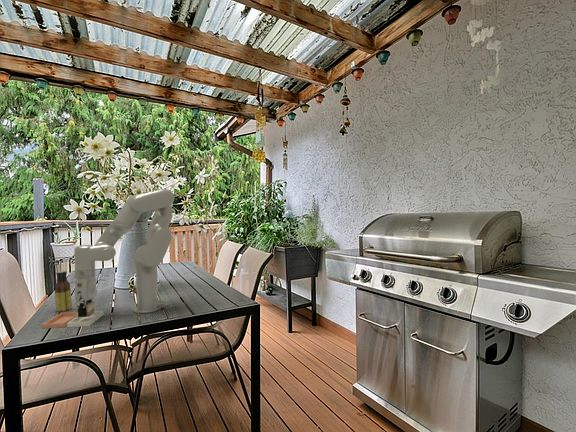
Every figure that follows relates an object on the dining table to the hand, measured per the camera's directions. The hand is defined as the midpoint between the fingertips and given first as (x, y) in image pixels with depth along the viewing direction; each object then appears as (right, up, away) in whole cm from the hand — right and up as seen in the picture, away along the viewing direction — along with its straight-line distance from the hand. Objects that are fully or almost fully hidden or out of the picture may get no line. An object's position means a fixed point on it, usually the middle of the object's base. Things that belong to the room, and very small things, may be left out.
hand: (85, 314), depth 139 cm
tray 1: (-9, -4, -1) cm, 10 cm away
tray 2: (0, -4, 0) cm, 4 cm away
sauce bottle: (-19, -3, +14) cm, 24 cm away
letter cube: (0, 0, 0) cm, 0 cm away
